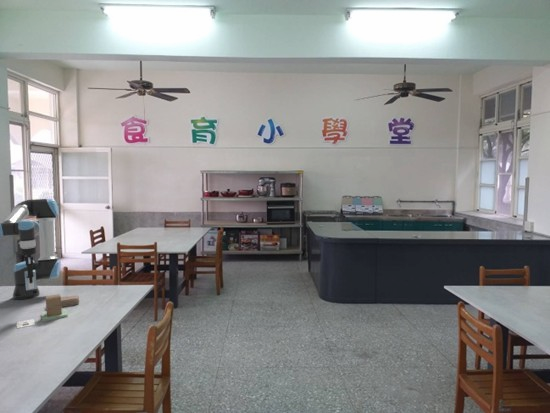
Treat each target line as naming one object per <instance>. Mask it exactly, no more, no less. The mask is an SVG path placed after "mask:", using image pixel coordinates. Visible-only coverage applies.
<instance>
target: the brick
mask: <svg viewBox="0 0 550 413" xmlns="http://www.w3.org/2000/svg"><path fill="white" fill-rule="evenodd" d="M79 303H80V297H79V295H78V294H76V295H69V296H65V297H64V296H61V308H63V307H69V306H75V305H76V306H77V305H79Z"/></svg>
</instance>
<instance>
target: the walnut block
mask: <svg viewBox="0 0 550 413" xmlns="http://www.w3.org/2000/svg"><path fill="white" fill-rule="evenodd" d="M61 297H62V296H61V295H60V293H59V294H51V295H47V296H45V306H46V307H45V308H46V312H47V316H48V317H50V316H55V315H60V314H62V309H63V307H61Z"/></svg>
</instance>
